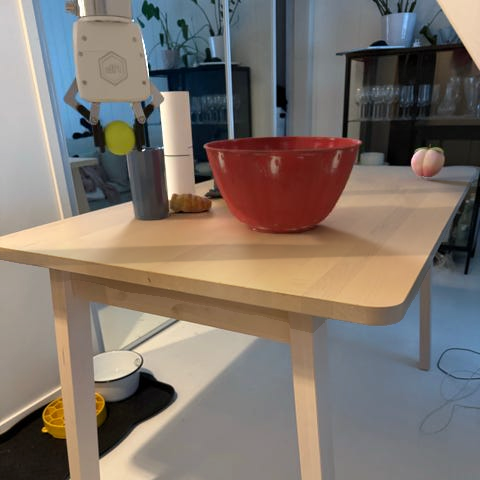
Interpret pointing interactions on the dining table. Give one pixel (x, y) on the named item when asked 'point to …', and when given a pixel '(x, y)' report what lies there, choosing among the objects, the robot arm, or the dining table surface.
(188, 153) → the cylindrical container
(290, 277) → the dining table surface
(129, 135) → the ball
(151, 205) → the cup
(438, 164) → the decorative fruit
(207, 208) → the pastry
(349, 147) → the mixing bowl
